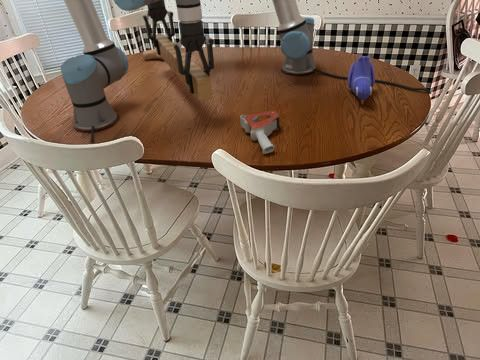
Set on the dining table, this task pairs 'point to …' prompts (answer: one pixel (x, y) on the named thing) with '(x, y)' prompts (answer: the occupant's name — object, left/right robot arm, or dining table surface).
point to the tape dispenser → (261, 128)
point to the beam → (198, 75)
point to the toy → (361, 78)
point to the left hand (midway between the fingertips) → (199, 90)
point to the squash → (152, 54)
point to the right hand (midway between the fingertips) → (164, 53)
